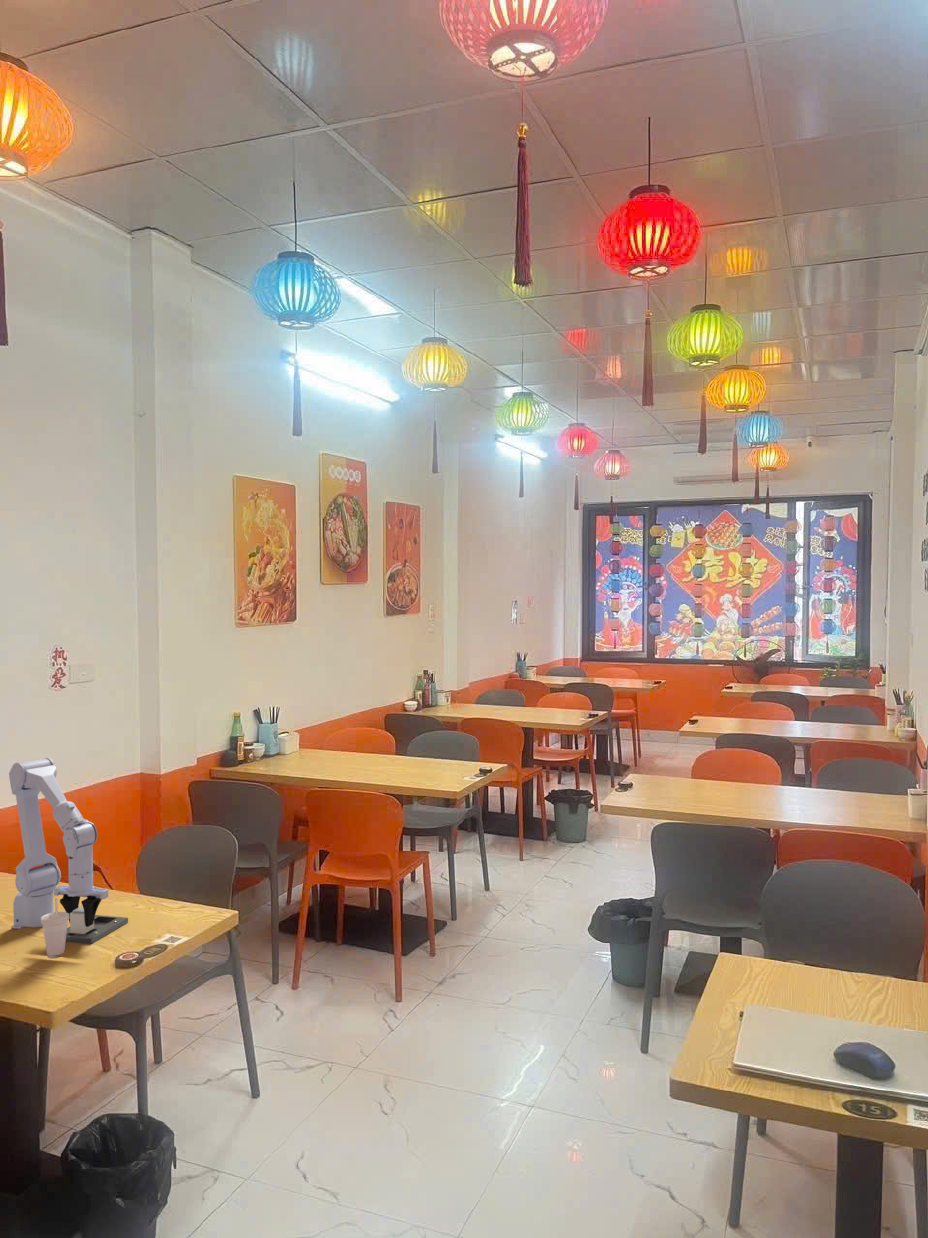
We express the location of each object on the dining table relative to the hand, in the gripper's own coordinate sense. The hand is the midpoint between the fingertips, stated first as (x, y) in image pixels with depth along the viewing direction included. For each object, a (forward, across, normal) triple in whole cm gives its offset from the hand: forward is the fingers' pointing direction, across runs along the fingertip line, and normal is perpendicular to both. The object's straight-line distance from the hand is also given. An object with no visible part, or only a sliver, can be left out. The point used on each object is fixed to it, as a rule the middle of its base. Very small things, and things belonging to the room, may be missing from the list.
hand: (81, 924), depth 223 cm
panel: (+4, 0, +4) cm, 6 cm away
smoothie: (+4, 0, -10) cm, 11 cm away
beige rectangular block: (+2, 0, 0) cm, 2 cm away
